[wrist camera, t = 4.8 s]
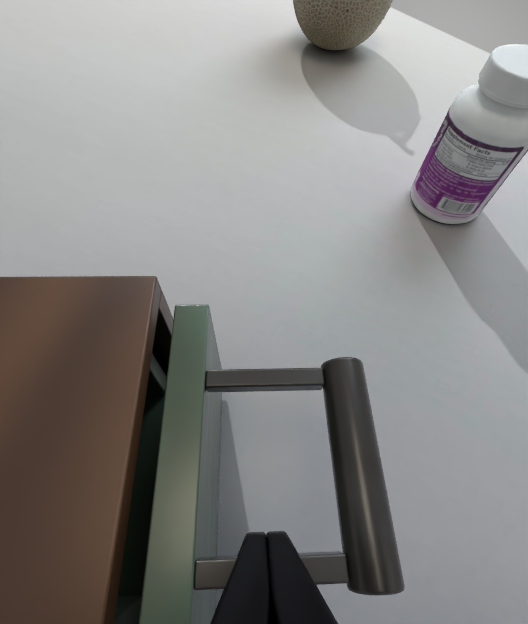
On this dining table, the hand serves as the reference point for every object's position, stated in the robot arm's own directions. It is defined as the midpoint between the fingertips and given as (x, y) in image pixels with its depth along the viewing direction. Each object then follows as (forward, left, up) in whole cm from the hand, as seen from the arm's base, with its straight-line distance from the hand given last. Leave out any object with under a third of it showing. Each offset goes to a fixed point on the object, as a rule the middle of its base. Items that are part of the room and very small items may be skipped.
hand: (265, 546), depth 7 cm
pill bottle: (+21, -15, -9) cm, 27 cm away
